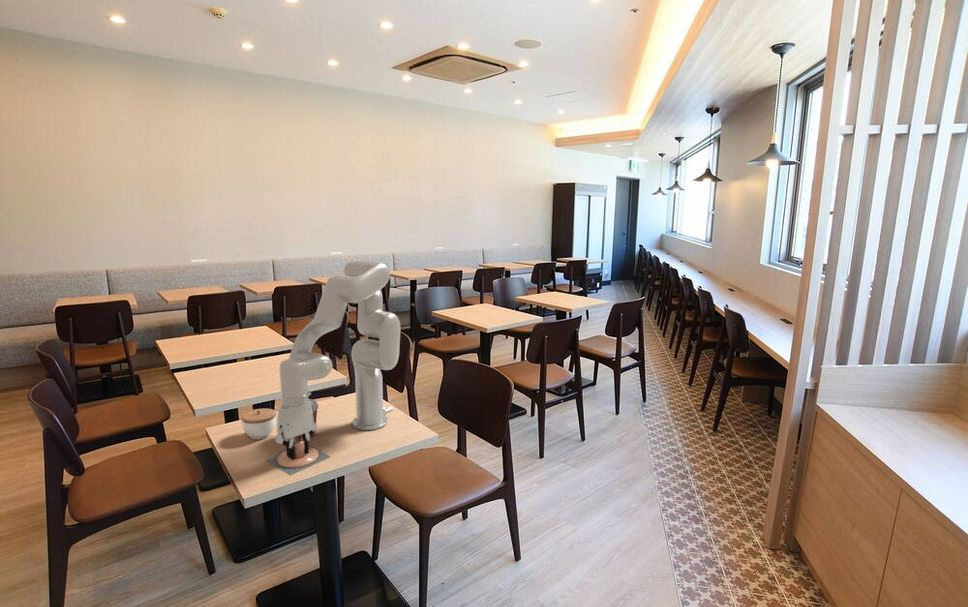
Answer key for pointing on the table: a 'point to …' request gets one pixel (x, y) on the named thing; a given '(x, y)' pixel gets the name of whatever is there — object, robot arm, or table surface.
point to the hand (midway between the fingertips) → (298, 454)
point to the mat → (294, 470)
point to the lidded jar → (259, 423)
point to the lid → (298, 456)
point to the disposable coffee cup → (314, 410)
